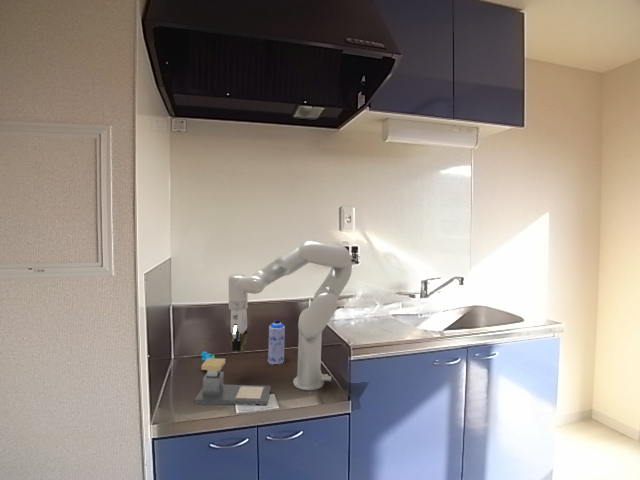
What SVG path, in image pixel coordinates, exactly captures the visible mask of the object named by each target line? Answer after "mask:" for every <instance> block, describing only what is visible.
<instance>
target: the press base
mask: <svg viewBox="0 0 640 480" xmlns="http://www.w3.org/2000/svg"><path fill="white" fill-rule="evenodd" d="M270 393H271V385H253V384H250V385H249V384H224V371H220V375H219V377H218V378H208V377H207V372H206V373H205V375H204V376H203V378H202V388H201V389H200V391H199V392H198V394H197V395H196V396H195V398H194V400H193V401H194V404H200V405H204V404H205V405H232V404H260V405H259V406H267V405H268V404H267V403H268V401H267V400H269V397H270ZM261 404H262V405H261Z"/></svg>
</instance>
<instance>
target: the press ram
mask: <svg viewBox="0 0 640 480" xmlns="http://www.w3.org/2000/svg"><path fill="white" fill-rule="evenodd" d="M225 364H226V358H215V357H214V358H207V359H206V360H205V361H203V363H202V364H201V367H200V370H203V371H204V370H205V371H206V373H207V377H208V378H218V377H219V375H220V372H221V370H222V369H223V367H224V365H225Z"/></svg>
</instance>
